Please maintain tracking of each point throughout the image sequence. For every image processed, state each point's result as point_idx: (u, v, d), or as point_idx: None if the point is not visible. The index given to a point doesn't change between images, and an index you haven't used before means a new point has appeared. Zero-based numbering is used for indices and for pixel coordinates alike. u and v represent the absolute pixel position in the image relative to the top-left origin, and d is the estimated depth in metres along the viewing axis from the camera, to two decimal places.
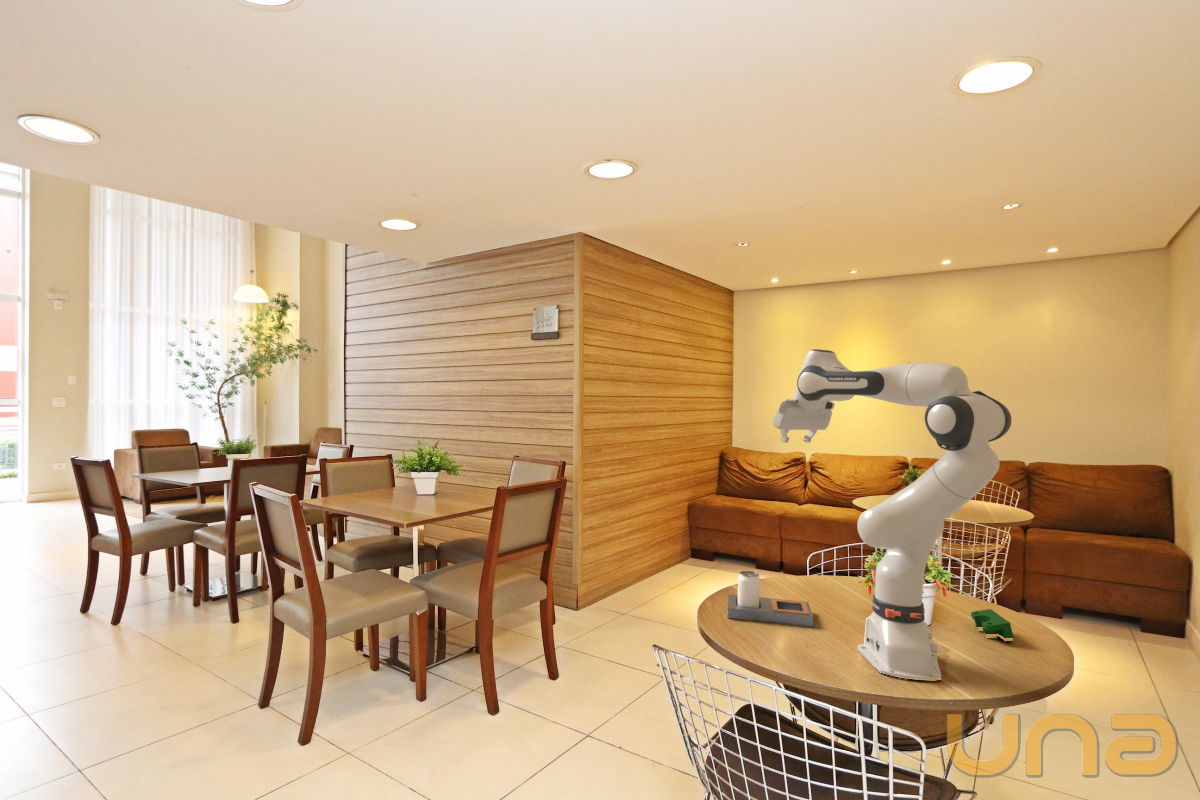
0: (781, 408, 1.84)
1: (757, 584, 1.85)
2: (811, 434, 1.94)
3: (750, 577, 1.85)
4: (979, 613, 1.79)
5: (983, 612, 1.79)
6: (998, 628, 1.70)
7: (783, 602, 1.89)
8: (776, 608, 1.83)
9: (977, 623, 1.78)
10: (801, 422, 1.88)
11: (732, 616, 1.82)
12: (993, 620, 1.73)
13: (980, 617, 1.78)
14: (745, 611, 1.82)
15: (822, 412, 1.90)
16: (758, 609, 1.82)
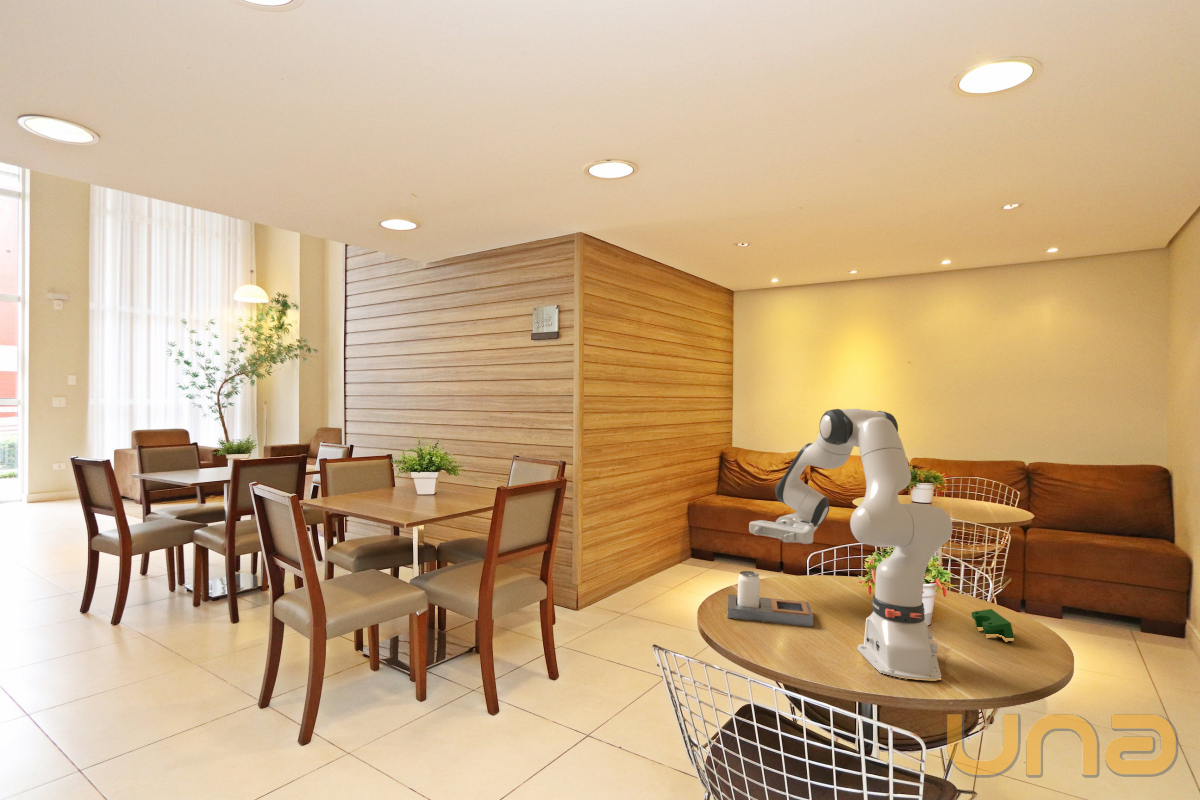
0: None
1: (757, 584, 1.85)
2: None
3: (750, 577, 1.85)
4: (980, 613, 1.79)
5: (984, 612, 1.79)
6: (999, 628, 1.70)
7: (783, 602, 1.89)
8: (776, 608, 1.83)
9: (978, 623, 1.78)
10: (774, 525, 2.03)
11: (732, 616, 1.82)
12: (993, 620, 1.73)
13: (981, 617, 1.78)
14: (745, 611, 1.82)
15: (799, 525, 2.01)
16: (758, 609, 1.82)
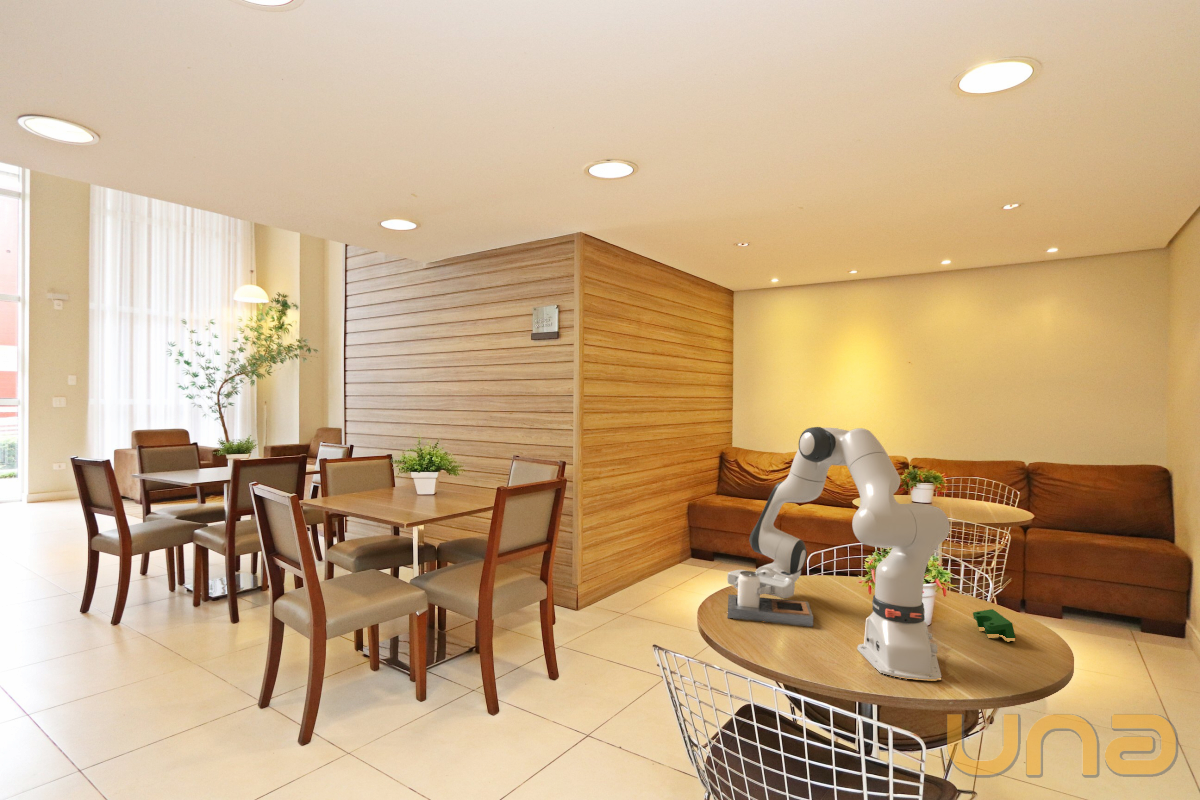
0: None
1: (757, 584, 1.85)
2: None
3: (750, 577, 1.85)
4: (981, 613, 1.79)
5: (985, 612, 1.79)
6: (1000, 628, 1.70)
7: (783, 602, 1.89)
8: (776, 608, 1.83)
9: (979, 623, 1.78)
10: None
11: (732, 616, 1.82)
12: (995, 620, 1.73)
13: (982, 617, 1.78)
14: (745, 611, 1.82)
15: (779, 577, 1.92)
16: (758, 609, 1.82)
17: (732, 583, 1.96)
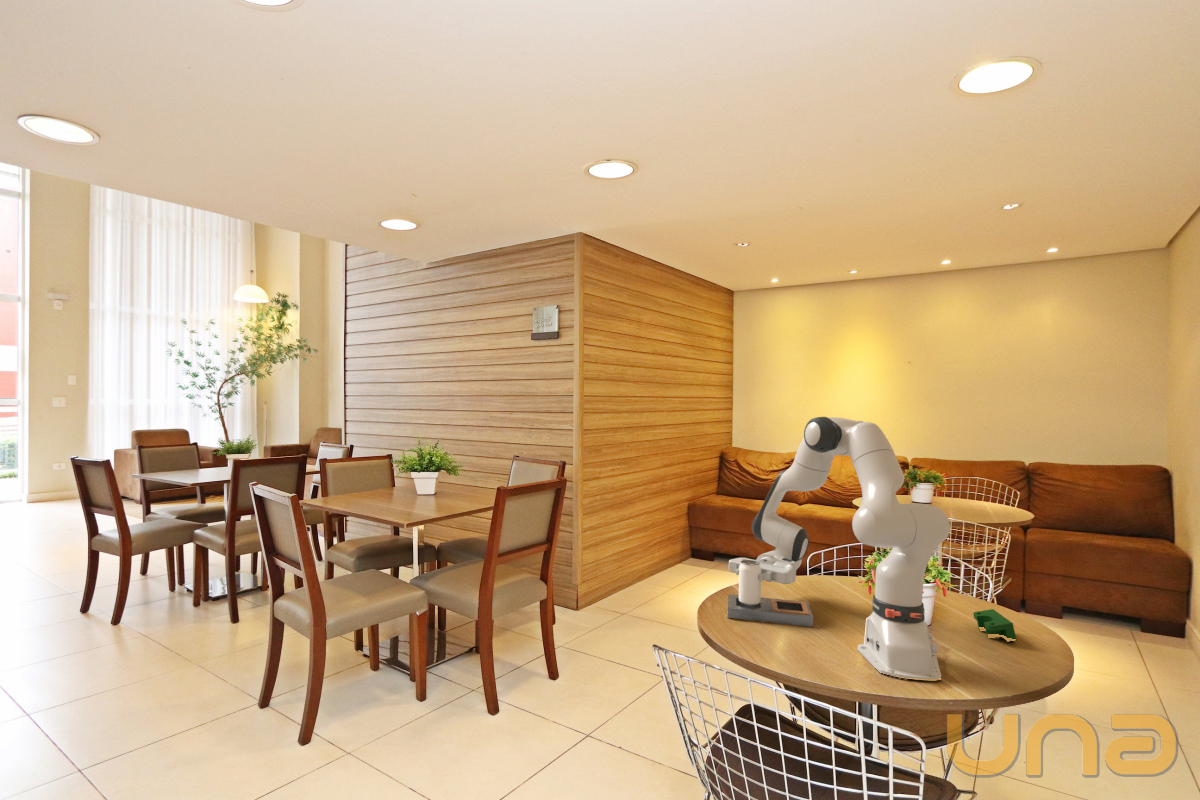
0: None
1: (759, 573, 1.85)
2: None
3: (752, 566, 1.85)
4: (981, 613, 1.79)
5: (986, 612, 1.79)
6: (1001, 628, 1.70)
7: (783, 602, 1.89)
8: (776, 608, 1.83)
9: (979, 623, 1.78)
10: None
11: (732, 616, 1.82)
12: (995, 620, 1.73)
13: (982, 617, 1.78)
14: (745, 611, 1.82)
15: (780, 564, 1.91)
16: (758, 609, 1.82)
17: (733, 571, 1.95)
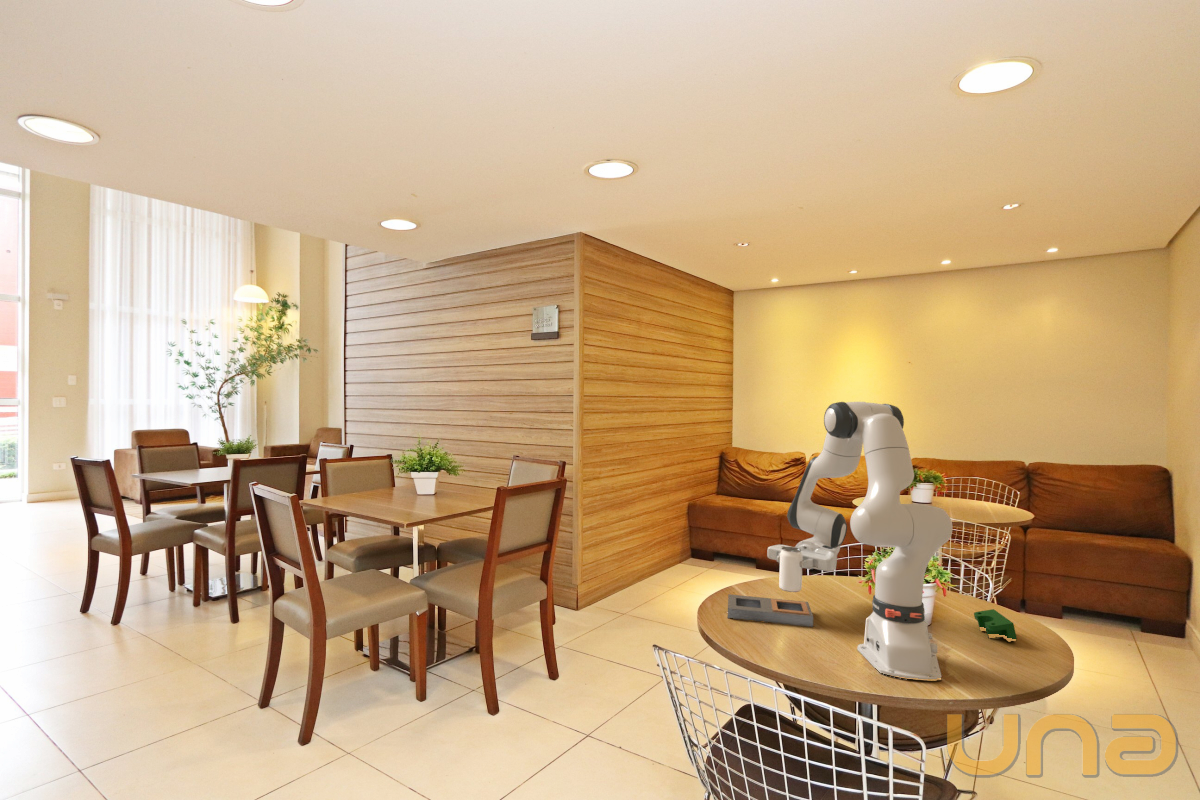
0: None
1: (800, 560, 1.83)
2: None
3: (794, 552, 1.82)
4: (982, 613, 1.79)
5: (986, 612, 1.79)
6: (1001, 628, 1.70)
7: (783, 602, 1.89)
8: (776, 608, 1.83)
9: (980, 623, 1.78)
10: None
11: (732, 616, 1.82)
12: (996, 620, 1.73)
13: (983, 617, 1.78)
14: (745, 611, 1.82)
15: (821, 551, 1.89)
16: (758, 609, 1.82)
17: (772, 558, 1.93)
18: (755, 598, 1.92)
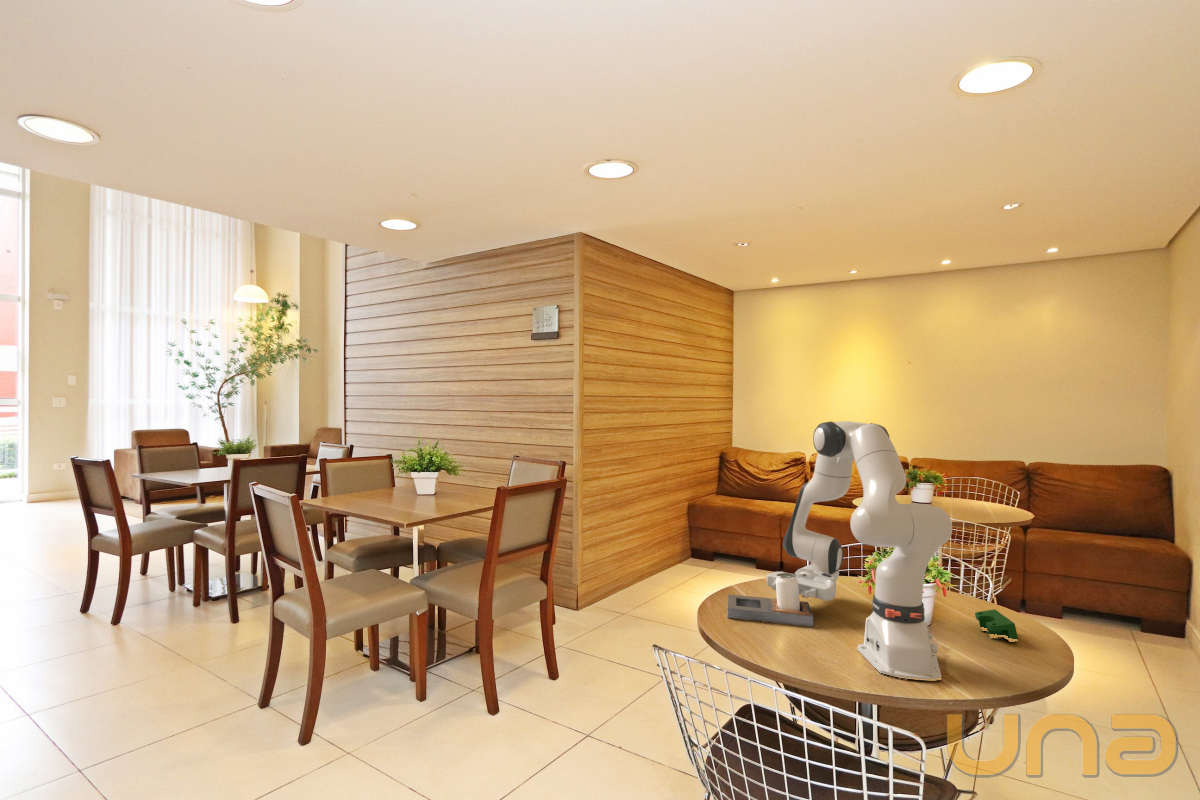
0: None
1: (796, 585, 1.83)
2: None
3: (789, 578, 1.83)
4: (983, 613, 1.79)
5: (987, 612, 1.79)
6: (1002, 628, 1.70)
7: None
8: (776, 608, 1.83)
9: (981, 623, 1.78)
10: None
11: (732, 616, 1.82)
12: (997, 620, 1.73)
13: (984, 617, 1.78)
14: (745, 611, 1.82)
15: (820, 579, 1.89)
16: (758, 609, 1.82)
17: (771, 585, 1.93)
18: (755, 598, 1.92)
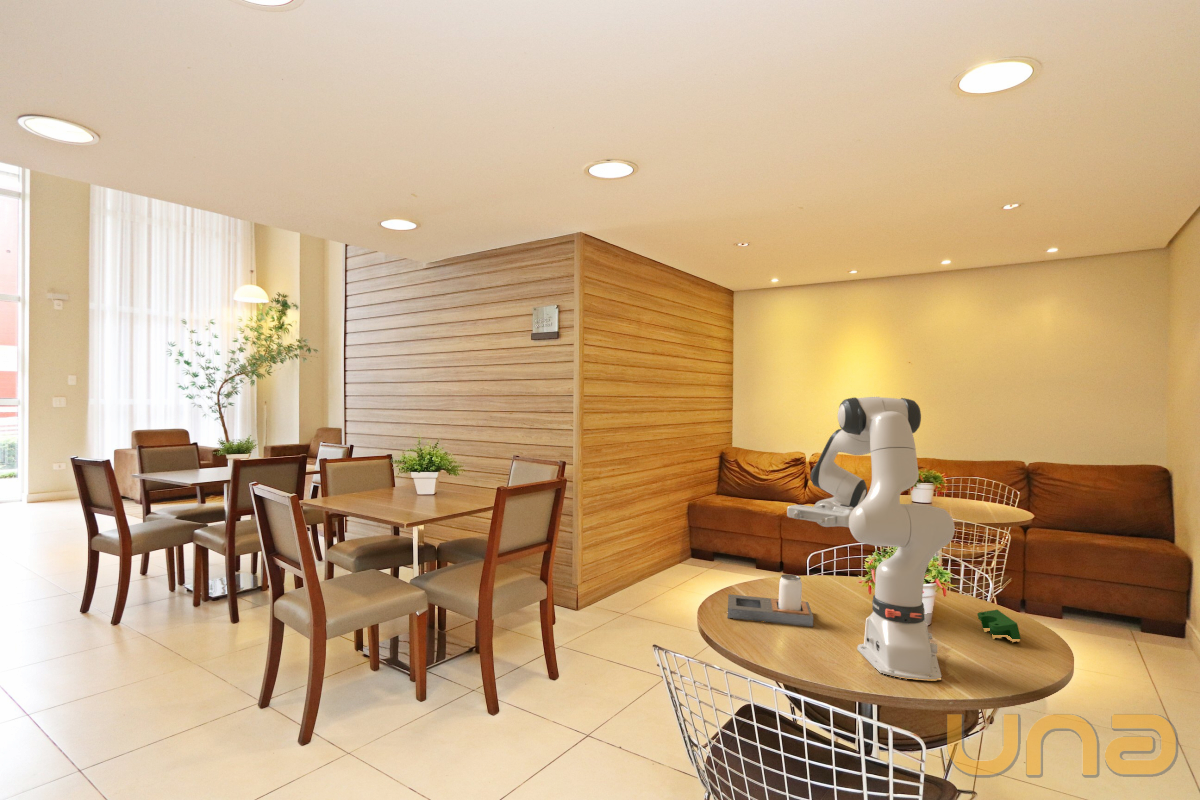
0: None
1: (800, 588, 1.83)
2: None
3: (793, 581, 1.82)
4: (986, 614, 1.79)
5: (990, 613, 1.79)
6: (1005, 629, 1.70)
7: None
8: (776, 608, 1.83)
9: (984, 624, 1.78)
10: (813, 509, 2.00)
11: (732, 616, 1.82)
12: (1000, 621, 1.73)
13: (987, 618, 1.77)
14: (745, 611, 1.82)
15: (839, 509, 1.98)
16: (758, 609, 1.82)
17: (792, 516, 2.02)
18: (755, 598, 1.92)
